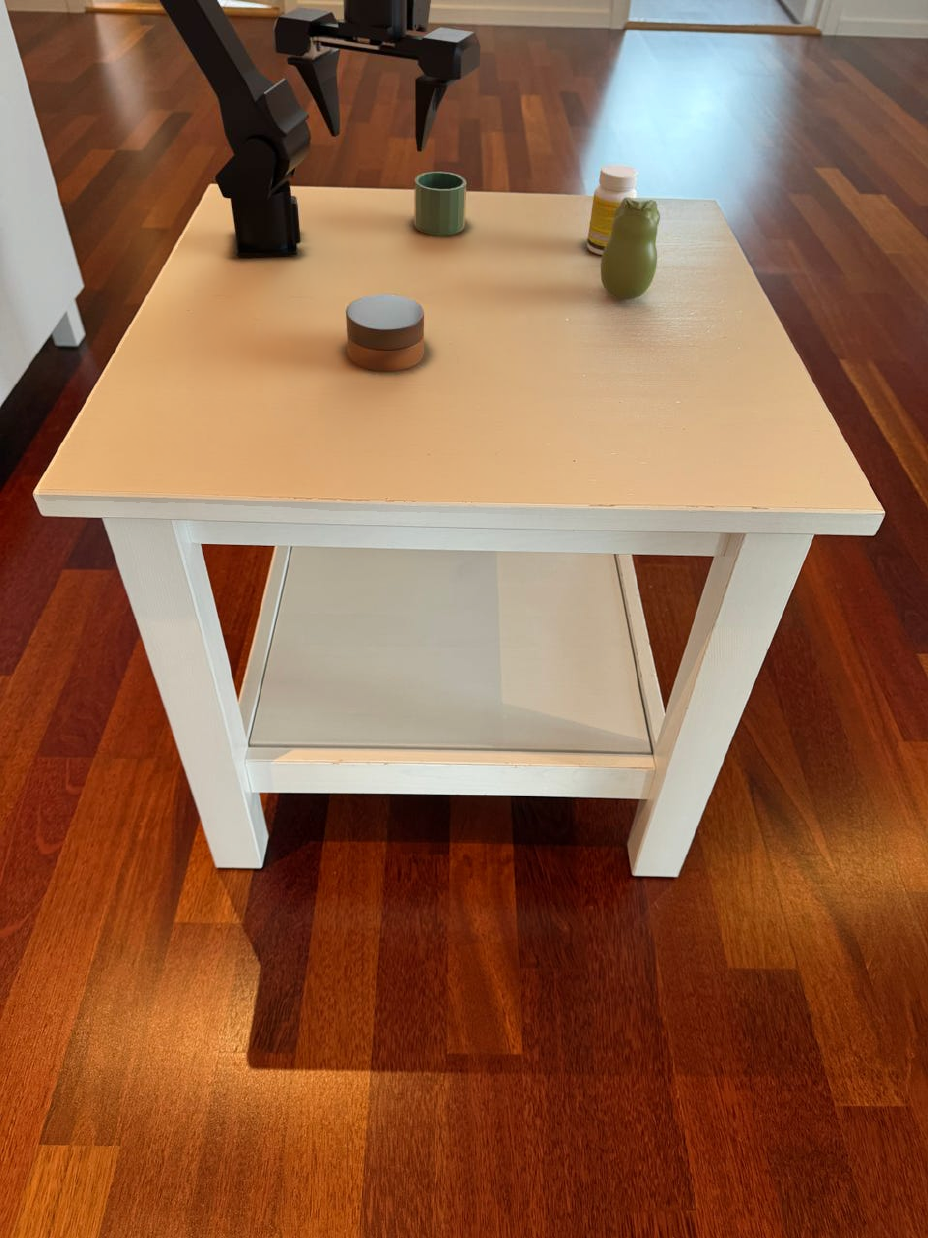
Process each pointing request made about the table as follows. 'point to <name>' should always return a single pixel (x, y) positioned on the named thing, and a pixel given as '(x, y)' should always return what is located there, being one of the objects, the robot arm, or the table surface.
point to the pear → (631, 249)
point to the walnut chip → (385, 322)
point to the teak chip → (386, 356)
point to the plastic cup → (439, 203)
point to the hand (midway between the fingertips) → (377, 142)
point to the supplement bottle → (609, 202)
